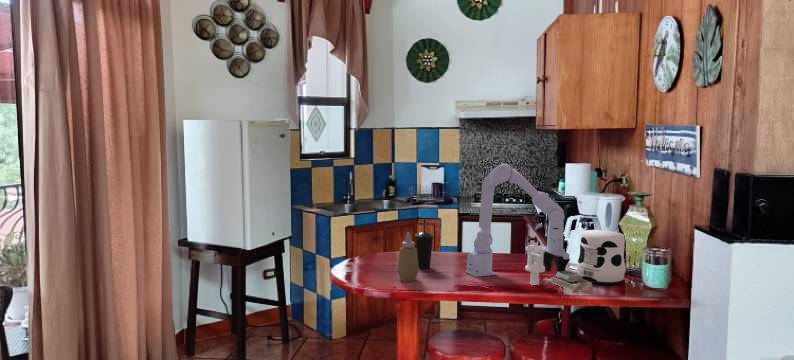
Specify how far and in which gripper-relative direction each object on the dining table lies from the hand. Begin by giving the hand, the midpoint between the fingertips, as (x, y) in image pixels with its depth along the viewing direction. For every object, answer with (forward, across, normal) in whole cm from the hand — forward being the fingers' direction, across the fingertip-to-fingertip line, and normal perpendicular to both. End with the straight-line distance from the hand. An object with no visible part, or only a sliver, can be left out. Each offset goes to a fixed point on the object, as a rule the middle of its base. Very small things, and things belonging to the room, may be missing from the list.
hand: (553, 273), depth 212 cm
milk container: (+2, -8, -16) cm, 17 cm away
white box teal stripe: (+1, -8, 0) cm, 8 cm away
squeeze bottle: (+2, +18, +52) cm, 56 cm away
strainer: (+2, -3, +11) cm, 12 cm away
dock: (+3, -7, 0) cm, 8 cm away
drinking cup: (+2, +32, +40) cm, 51 cm away
